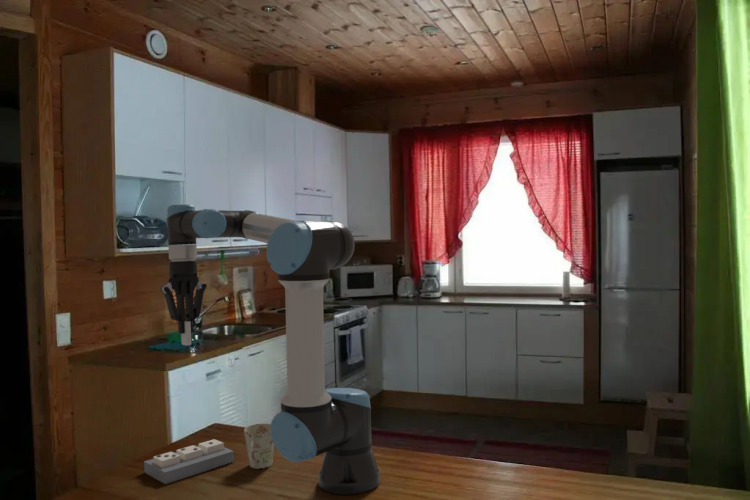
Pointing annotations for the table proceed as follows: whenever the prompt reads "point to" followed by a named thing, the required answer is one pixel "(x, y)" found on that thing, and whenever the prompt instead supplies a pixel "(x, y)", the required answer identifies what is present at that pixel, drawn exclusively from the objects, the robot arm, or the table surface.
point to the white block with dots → (166, 460)
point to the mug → (259, 445)
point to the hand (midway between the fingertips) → (186, 344)
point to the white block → (211, 446)
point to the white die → (190, 453)
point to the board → (189, 466)
